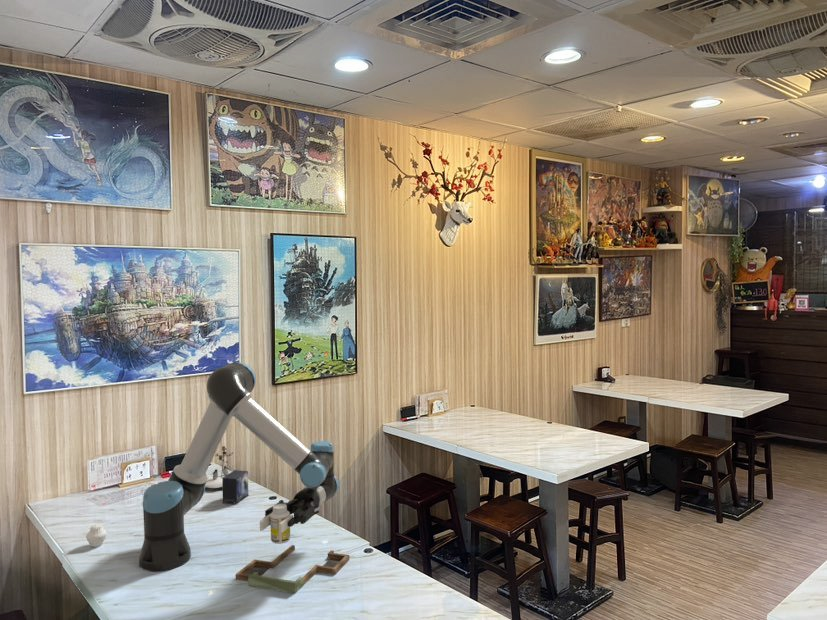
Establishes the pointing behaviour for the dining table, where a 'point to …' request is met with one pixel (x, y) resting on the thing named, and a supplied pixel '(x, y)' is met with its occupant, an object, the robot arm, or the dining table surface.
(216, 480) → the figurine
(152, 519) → the robot arm
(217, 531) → the dining table surface
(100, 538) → the off-white rounded lump
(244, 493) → the small box
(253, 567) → the lane
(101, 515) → the dining table surface
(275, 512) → the supplement bottle
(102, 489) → the dining table surface
